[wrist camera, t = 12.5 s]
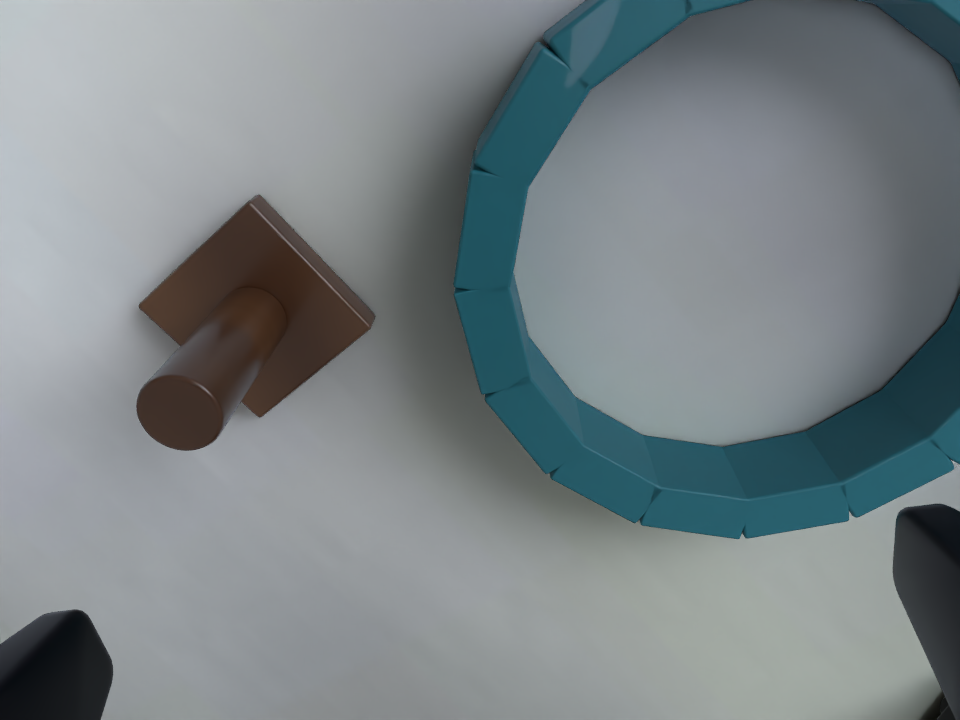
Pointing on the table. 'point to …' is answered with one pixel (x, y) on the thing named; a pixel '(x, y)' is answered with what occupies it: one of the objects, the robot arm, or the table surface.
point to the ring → (610, 444)
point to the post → (243, 327)
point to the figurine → (945, 711)
